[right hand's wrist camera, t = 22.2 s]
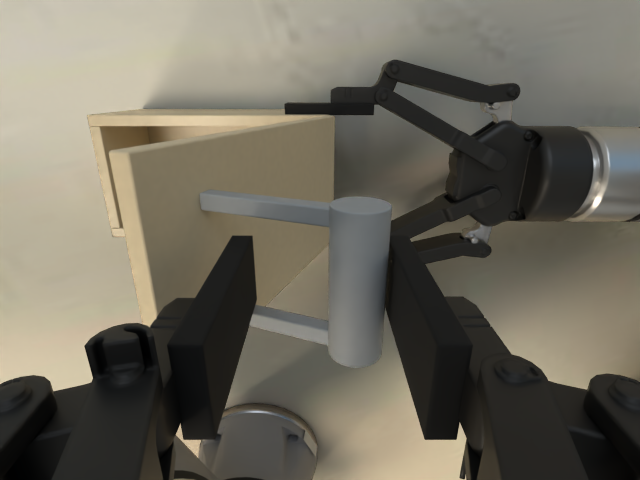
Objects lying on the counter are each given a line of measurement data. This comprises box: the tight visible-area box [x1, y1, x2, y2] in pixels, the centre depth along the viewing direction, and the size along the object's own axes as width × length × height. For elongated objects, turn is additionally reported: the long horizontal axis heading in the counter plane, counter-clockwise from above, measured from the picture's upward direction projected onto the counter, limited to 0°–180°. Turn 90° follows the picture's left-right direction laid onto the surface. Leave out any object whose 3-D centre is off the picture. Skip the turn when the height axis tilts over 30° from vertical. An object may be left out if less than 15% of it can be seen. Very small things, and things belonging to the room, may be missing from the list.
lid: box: [109, 116, 392, 368], centre depth 20 cm, size 18×9×8 cm
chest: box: [87, 109, 329, 237], centre depth 33 cm, size 17×9×9 cm, turn 90°
